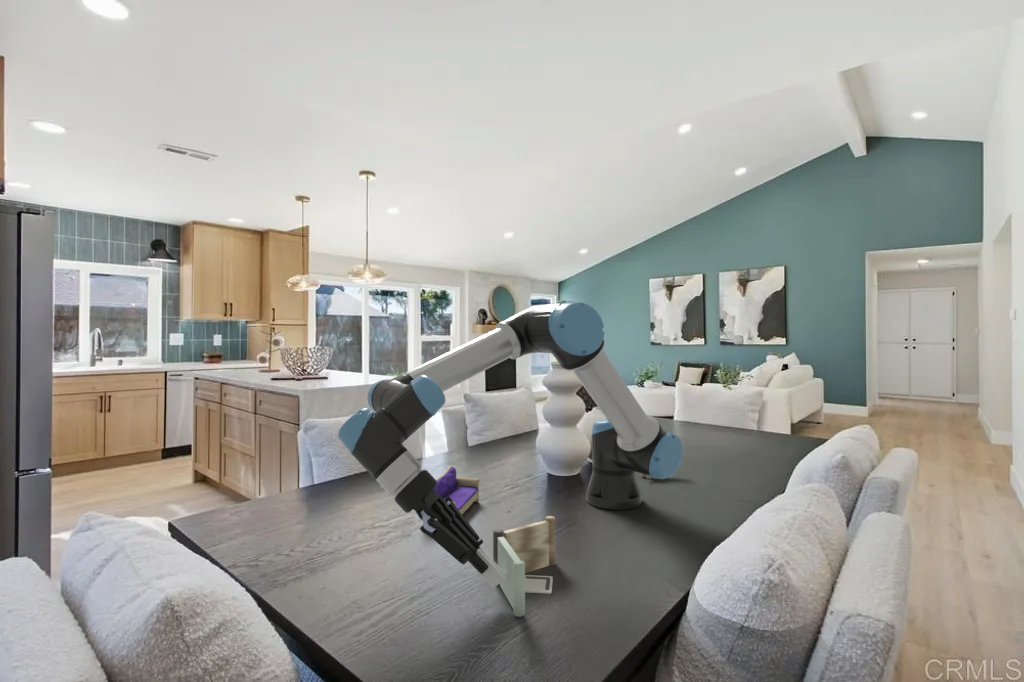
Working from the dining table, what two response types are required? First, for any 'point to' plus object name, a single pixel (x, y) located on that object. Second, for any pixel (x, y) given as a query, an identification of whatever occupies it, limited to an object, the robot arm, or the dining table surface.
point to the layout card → (538, 584)
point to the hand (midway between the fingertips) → (499, 581)
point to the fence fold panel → (512, 576)
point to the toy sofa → (458, 489)
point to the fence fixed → (530, 543)
